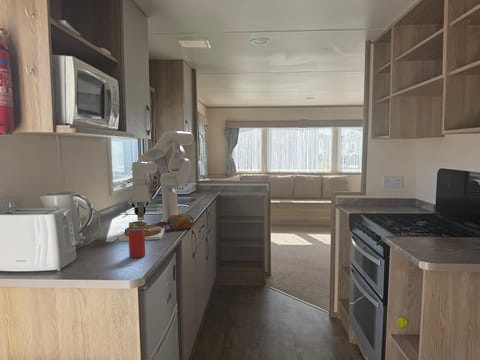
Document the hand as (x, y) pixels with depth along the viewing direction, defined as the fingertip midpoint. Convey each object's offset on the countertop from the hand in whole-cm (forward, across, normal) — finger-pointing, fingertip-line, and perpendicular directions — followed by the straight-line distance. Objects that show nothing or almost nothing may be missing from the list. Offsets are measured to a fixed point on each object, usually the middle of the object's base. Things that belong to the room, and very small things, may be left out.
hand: (140, 213), depth 208 cm
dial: (+7, +3, +17) cm, 19 cm away
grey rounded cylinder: (+3, 0, +1) cm, 4 cm away
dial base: (+9, +3, +17) cm, 19 cm away
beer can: (+10, +17, +54) cm, 58 cm away
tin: (+9, -20, +12) cm, 25 cm away
